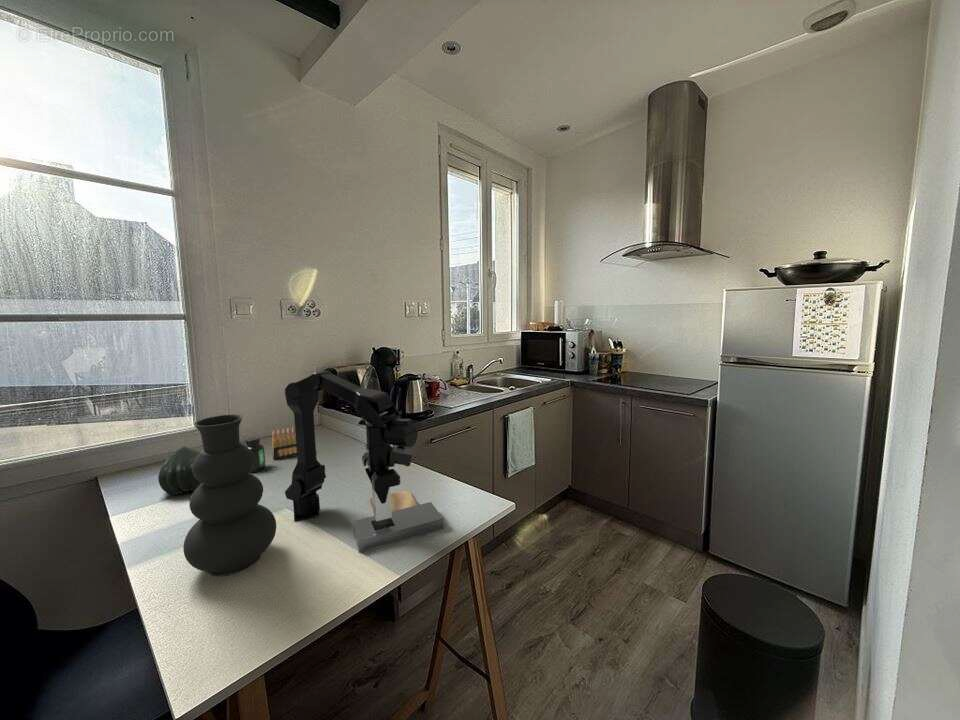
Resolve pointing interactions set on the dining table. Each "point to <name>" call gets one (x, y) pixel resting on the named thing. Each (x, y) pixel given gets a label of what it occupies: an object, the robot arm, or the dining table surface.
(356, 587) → the dining table surface
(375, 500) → the brushed metal block
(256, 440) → the supplement bottle
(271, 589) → the dining table surface
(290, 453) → the ammunition clip
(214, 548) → the vase
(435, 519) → the rail
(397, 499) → the oak pad
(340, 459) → the dining table surface
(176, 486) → the squash
